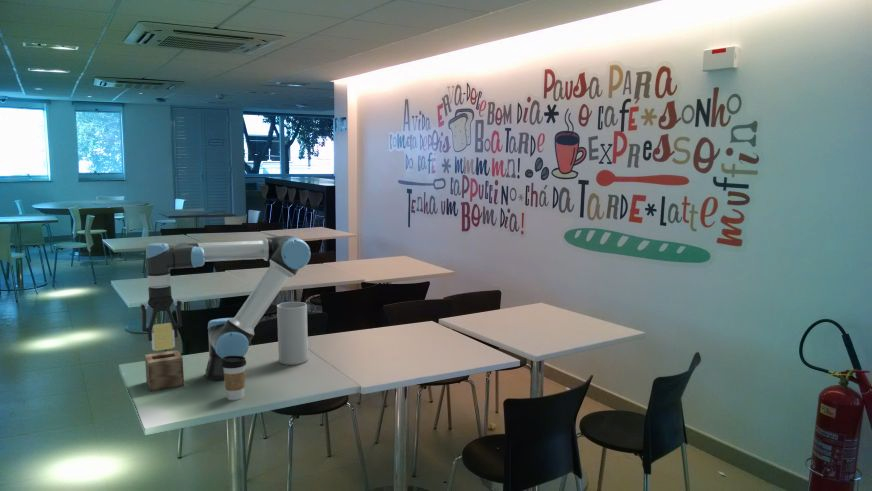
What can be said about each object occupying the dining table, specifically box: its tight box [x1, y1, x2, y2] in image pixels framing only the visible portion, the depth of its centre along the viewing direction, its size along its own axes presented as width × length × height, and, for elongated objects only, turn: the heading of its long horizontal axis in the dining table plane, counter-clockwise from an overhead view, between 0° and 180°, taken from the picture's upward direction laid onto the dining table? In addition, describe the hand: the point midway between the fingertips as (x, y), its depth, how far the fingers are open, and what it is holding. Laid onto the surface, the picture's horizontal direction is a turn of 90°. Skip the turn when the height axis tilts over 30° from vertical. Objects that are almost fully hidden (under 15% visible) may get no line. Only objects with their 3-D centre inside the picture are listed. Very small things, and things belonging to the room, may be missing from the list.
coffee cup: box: [222, 356, 247, 401], centre depth 220 cm, size 8×8×15 cm
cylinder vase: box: [276, 301, 309, 366], centre depth 262 cm, size 12×12×25 cm
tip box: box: [144, 349, 185, 392], centre depth 235 cm, size 12×12×11 cm
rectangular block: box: [152, 322, 174, 352], centre depth 221 cm, size 6×3×9 cm, turn 121°
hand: (163, 347), depth 221 cm, fingers closed on rectangular block, 6 cm apart
